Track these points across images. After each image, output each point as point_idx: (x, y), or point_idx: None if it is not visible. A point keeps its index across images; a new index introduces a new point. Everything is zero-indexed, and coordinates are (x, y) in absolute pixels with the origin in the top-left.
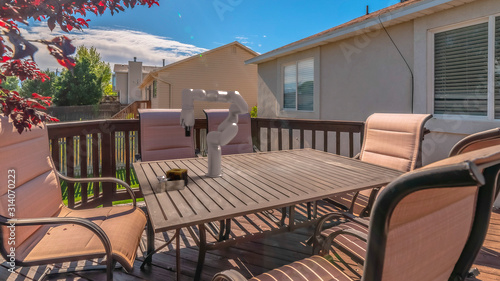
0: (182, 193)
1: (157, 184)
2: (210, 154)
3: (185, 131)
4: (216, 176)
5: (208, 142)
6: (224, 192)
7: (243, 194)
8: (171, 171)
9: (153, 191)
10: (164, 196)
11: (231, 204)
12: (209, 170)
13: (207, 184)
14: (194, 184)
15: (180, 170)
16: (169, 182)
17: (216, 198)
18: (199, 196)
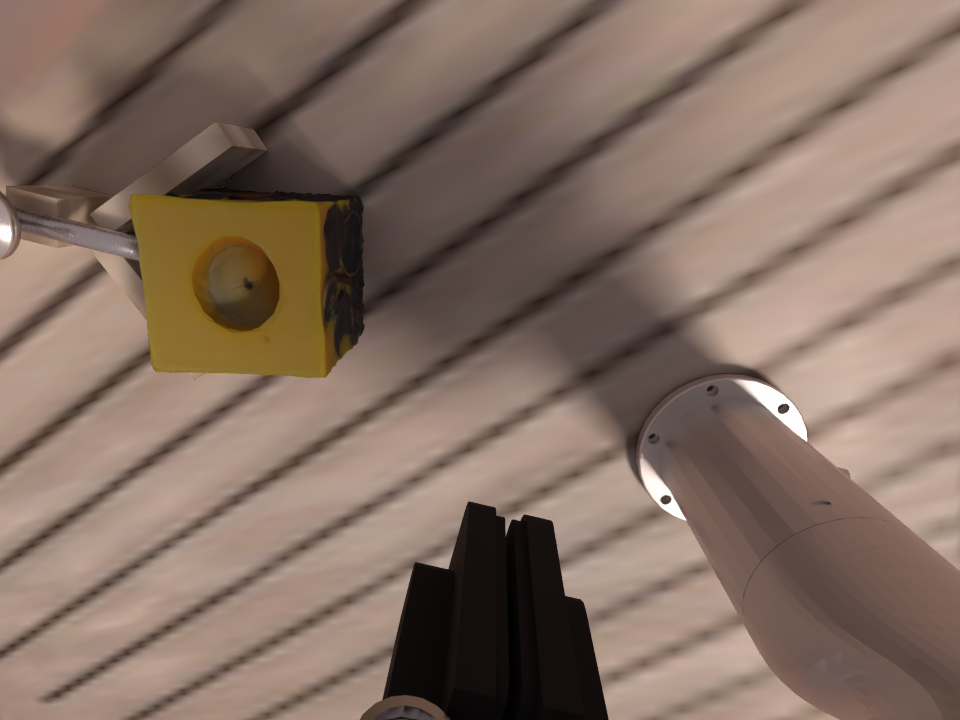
0: (131, 383)
1: (13, 190)
2: (754, 571)
3: (391, 679)
4: (644, 486)
5: (912, 697)
6: (258, 614)
7: (259, 705)
8: (146, 260)
9: (76, 139)
10: (13, 290)
11: (75, 680)
12: (686, 446)
13: (409, 473)
14: (381, 382)
15: (275, 314)
16: (110, 271)
17: (130, 599)
18: (121, 505)
